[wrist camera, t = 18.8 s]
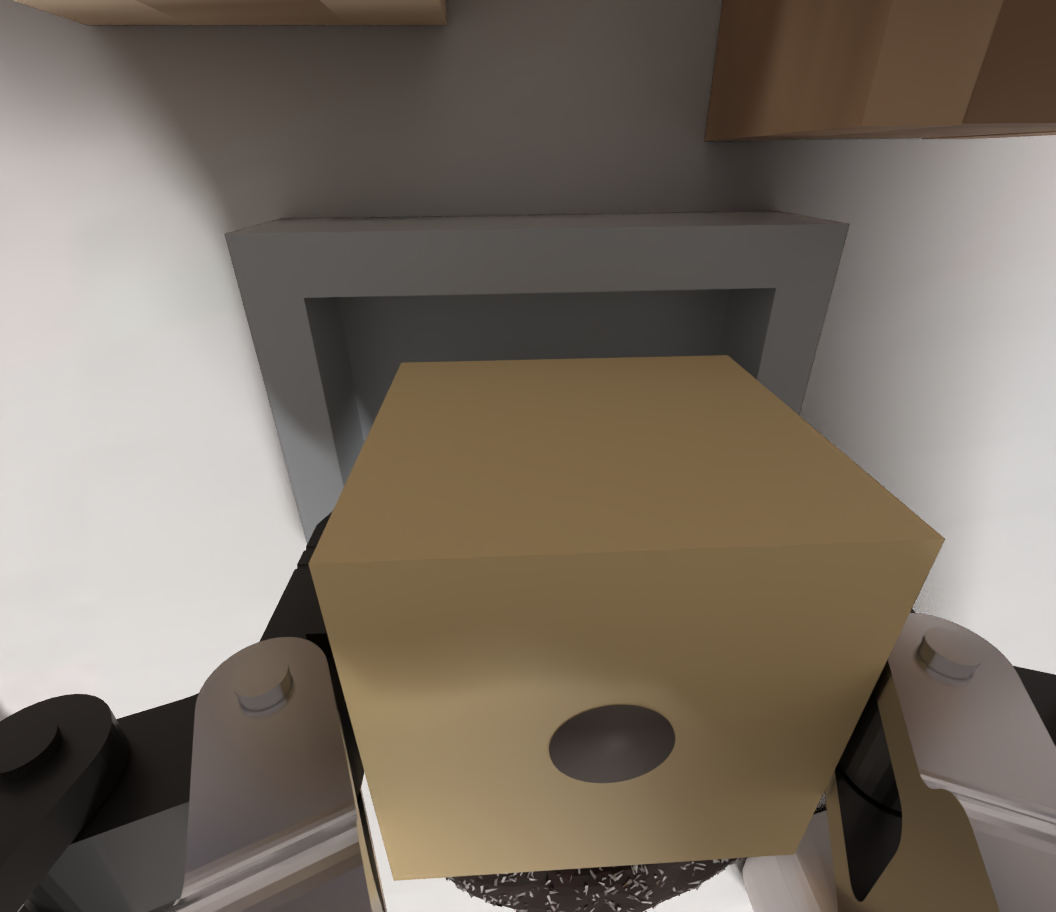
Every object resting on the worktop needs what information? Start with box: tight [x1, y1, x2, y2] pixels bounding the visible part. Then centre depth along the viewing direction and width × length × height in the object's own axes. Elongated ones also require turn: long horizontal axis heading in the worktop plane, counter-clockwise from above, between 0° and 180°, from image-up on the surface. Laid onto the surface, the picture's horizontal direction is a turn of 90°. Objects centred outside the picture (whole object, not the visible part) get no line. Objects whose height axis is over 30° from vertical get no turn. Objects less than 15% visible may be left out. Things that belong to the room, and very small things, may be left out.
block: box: [309, 355, 945, 881], centre depth 8 cm, size 6×6×5 cm
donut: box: [445, 858, 741, 912], centre depth 18 cm, size 11×12×4 cm
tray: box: [225, 211, 849, 544], centre depth 12 cm, size 10×10×2 cm
